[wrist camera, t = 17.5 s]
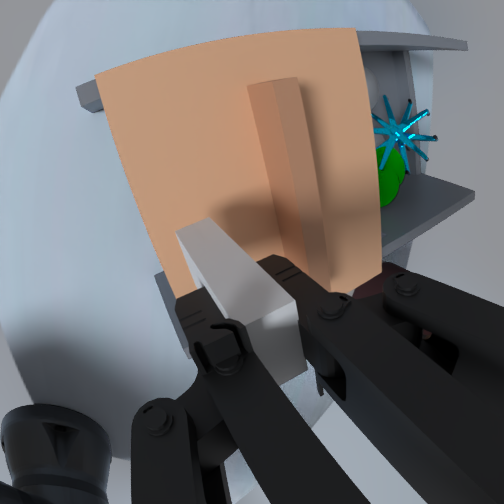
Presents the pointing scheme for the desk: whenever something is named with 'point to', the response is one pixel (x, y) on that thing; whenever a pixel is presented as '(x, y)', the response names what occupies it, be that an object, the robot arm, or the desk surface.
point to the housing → (414, 185)
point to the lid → (254, 150)
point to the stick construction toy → (388, 158)
